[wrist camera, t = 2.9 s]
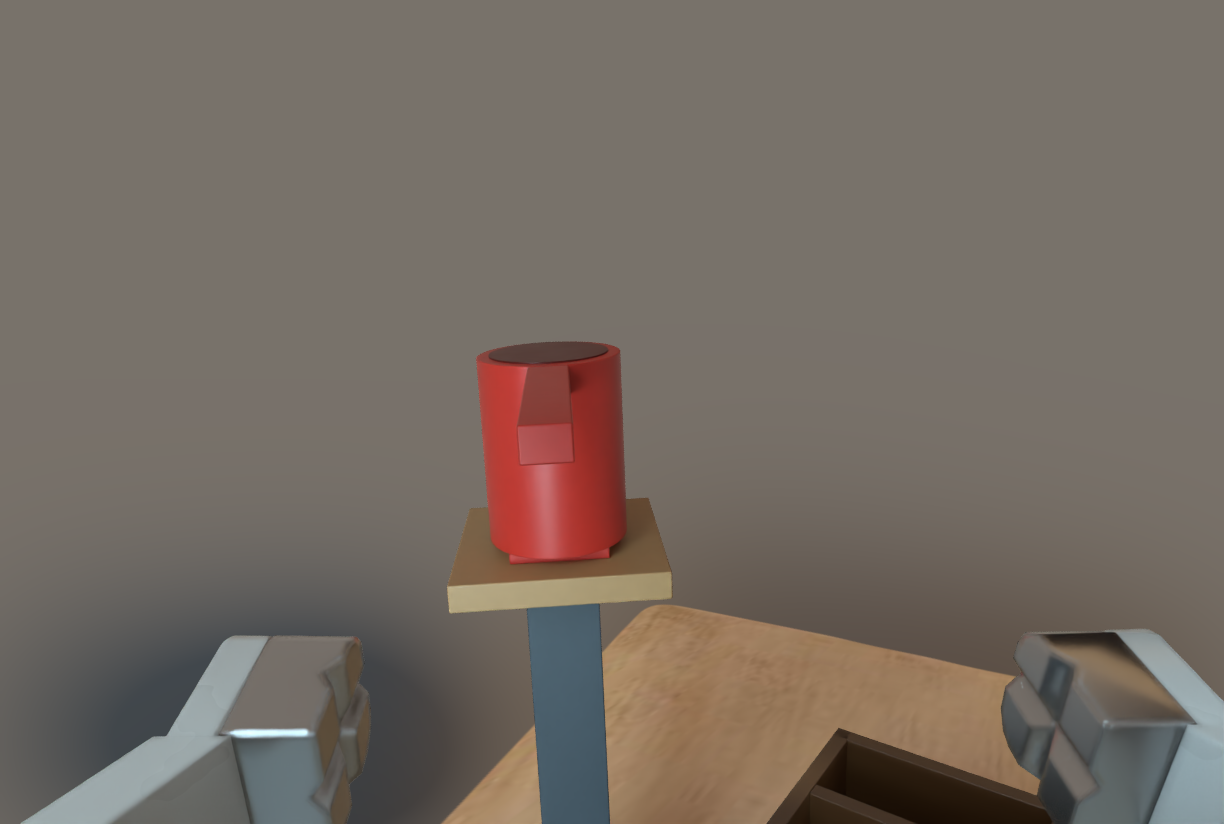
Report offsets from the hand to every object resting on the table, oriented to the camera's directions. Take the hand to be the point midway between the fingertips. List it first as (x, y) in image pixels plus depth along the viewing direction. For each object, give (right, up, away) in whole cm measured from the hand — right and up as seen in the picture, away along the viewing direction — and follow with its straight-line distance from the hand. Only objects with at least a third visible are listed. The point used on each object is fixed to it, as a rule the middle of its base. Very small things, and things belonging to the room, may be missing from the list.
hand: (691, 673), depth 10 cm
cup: (-3, -4, +22) cm, 23 cm away
